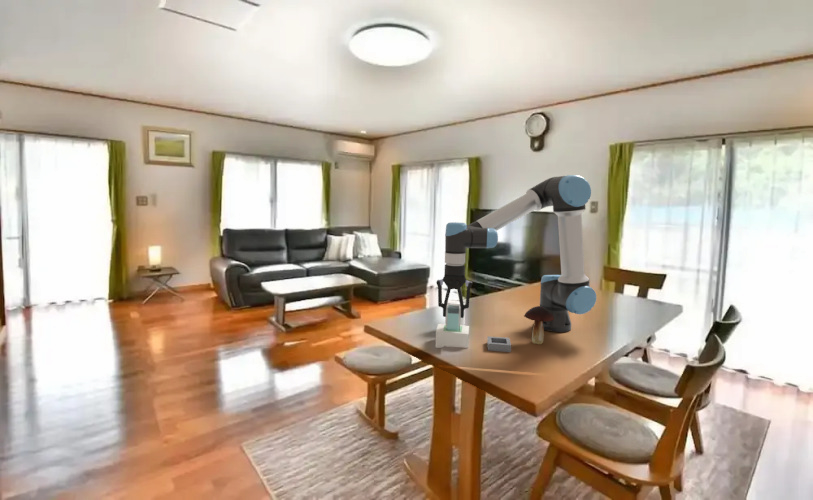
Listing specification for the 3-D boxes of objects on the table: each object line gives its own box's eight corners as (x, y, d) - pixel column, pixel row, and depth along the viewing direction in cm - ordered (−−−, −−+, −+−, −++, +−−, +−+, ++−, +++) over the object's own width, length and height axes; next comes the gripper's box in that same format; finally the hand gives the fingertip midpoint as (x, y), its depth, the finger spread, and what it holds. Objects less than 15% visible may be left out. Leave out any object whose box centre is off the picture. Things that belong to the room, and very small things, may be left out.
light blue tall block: (458, 336, 153) (459, 305, 151) (457, 339, 149) (458, 308, 148) (447, 335, 154) (448, 305, 152) (447, 339, 150) (447, 307, 148)
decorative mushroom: (519, 339, 158) (521, 302, 156) (547, 340, 157) (549, 303, 156) (526, 349, 147) (529, 309, 145) (557, 350, 147) (559, 310, 145)
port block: (468, 340, 155) (469, 325, 155) (468, 349, 146) (468, 333, 145) (437, 338, 157) (438, 323, 157) (435, 347, 148) (435, 331, 147)
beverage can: (463, 333, 164) (464, 304, 163) (444, 331, 166) (444, 303, 165) (464, 327, 172) (465, 300, 171) (446, 326, 174) (446, 299, 173)
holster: (508, 346, 150) (509, 337, 150) (510, 354, 142) (511, 345, 142) (487, 344, 151) (487, 336, 151) (487, 352, 144) (488, 343, 143)
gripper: (478, 263, 150) (476, 324, 153) (432, 261, 153) (431, 321, 156) (478, 266, 143) (476, 330, 146) (430, 264, 146) (429, 326, 148)
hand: (453, 325), depth 151 cm, fingers closed on light blue tall block, 4 cm apart
